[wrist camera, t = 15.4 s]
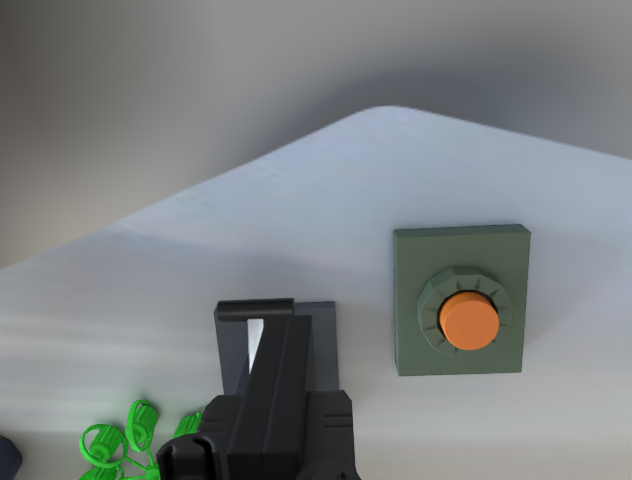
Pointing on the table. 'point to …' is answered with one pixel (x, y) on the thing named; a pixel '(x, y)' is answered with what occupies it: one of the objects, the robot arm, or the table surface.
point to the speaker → (9, 460)
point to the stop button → (469, 320)
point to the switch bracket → (237, 352)
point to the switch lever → (254, 316)
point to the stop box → (455, 277)
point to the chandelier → (136, 432)
